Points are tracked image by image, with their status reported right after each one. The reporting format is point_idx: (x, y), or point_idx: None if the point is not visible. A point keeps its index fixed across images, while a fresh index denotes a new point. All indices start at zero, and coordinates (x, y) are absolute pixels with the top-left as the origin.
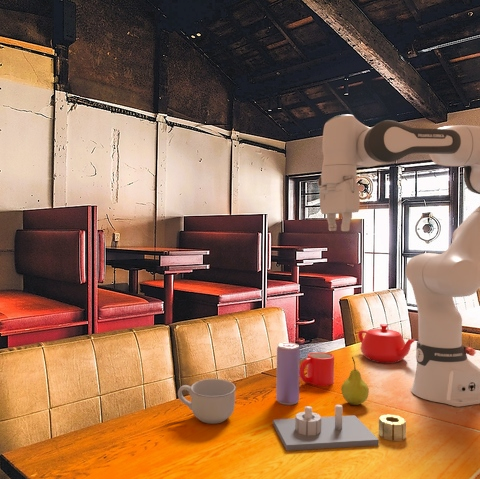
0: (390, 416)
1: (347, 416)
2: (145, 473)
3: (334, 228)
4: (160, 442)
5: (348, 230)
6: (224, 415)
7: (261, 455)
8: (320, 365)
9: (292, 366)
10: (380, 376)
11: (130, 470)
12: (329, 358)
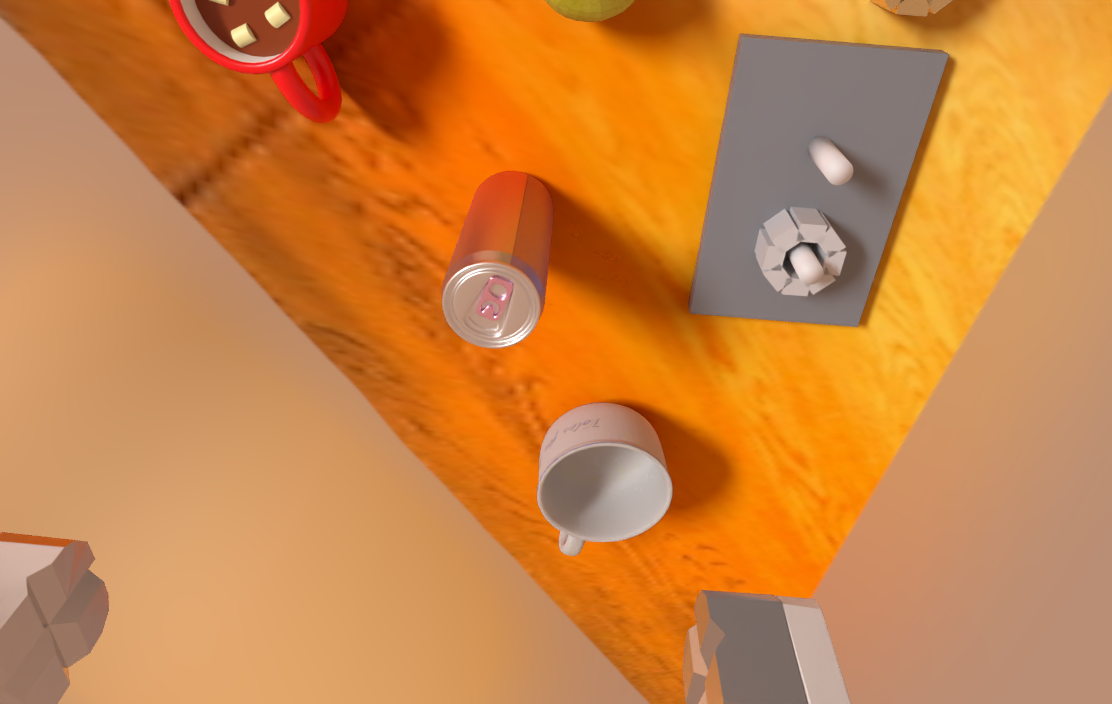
0: None
1: (742, 71)
2: (824, 568)
3: (70, 596)
4: (703, 541)
5: (809, 607)
6: (657, 435)
7: (848, 377)
8: (320, 24)
9: (547, 266)
10: None
11: (802, 586)
12: None
